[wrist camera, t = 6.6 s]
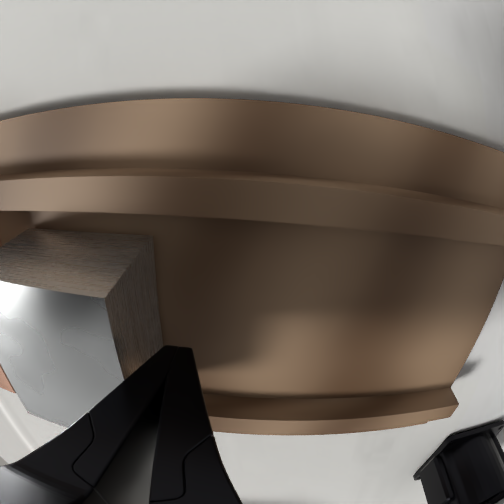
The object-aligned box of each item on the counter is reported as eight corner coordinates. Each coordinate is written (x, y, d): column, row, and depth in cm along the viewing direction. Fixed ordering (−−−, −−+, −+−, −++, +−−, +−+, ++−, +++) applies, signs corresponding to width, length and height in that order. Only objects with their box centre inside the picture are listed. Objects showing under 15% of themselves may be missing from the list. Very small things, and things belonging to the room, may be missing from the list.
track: (517, 159, 9) (578, 181, 6) (421, 410, 14) (440, 457, 11) (-32, 130, 9) (-89, 146, 5) (30, 376, 14) (4, 416, 11)
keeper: (152, 235, 9) (104, 298, 6) (167, 377, 12) (147, 448, 8) (28, 228, 9) (-36, 273, 6) (63, 356, 12) (28, 413, 8)
